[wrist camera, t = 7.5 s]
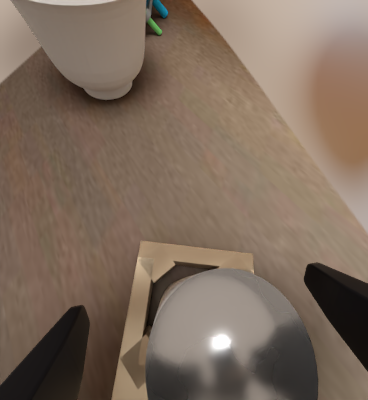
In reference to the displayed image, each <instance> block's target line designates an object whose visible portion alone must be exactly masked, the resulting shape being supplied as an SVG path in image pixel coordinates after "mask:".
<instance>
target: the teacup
mask: <svg viewBox="0 0 368 400" xmlns="http://www.w3.org/2000/svg"><path fill="white" fill-rule="evenodd" d="M11 1H12V3H13V4H14V5H15V7H16V8H17V10H18V11H19V13H20V14H21V16H22V17H23V18H24V20H25V21H26V23H27V24H28V26H29V28H30V29H31V31H32V32H33V34H34V35H35V37H36V38H37V40H38V41H39V43H40V45H41V46H42V48H43V49H44V51H45V52H46V54H47V55H48V57H49V58H50V60H51V61H52V62H53V64H54V65H55V66H56V68H57V69H58V70H59V71H60V72H61V73H62V75H63V76H65V77H66V78H67V79H68V80H69V81H71V82H72V83H74V84H75V85H77V86H79V87H82V88H84V90H85V91H86V92H87V93H88V94H89V95H90V96H92V97H94V98H97V99H103V100H111V99H116V98H120V97H122V96H124V95H125V94H126V93H128V91H129V90H130V89H131V87H132V81H133V80H134V79H135V77H136V76H137V75H138V73H139V72H140V69H141V67H142V64H143V59H144V50H145V22H146V0H11Z"/></svg>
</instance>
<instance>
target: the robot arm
mask: <svg viewBox="0 0 368 400" xmlns="http://www.w3.org/2000/svg"><path fill="white" fill-rule="evenodd" d="M304 282H305V285H306V286H307V288H308V289H309V291H310V292H311V294H312V296H313V297H314V299H315V300H316V302H317V303H318V305H319V306H320V308H321V309H322V311H323V313H324V314H325V316H326V317H327V319H328V320H329V321H330V323H331V324H332V325H333V327H334V328H335V329H336V331H337V332H338V333H339V335H340V336H341V337H342V339H343V340H344V341H345V343H346V344H347V345H348V346H349V348H350V349H351V350H352V352H353V353H354V354H355V356H356V357H357V358H358V359H359V361H360V362H361V363H362V365H363V366H364V367H365V369H366V370H367V371H368V283H365V282H363V281H361V280H358V279H356V278H354V277H351V276H349V275H346V274H344V273H342V272H339V271H337V270H335V269H332V268H330V267H328V266H325V265H323V264H320V263H311V264H308V265H307V267H306V271H305V276H304ZM89 327H90V322H89V318H88V315H87V312H86V309H85V307H84V306H83V305H79V306H74V307H71V308H70V309H69V310H68V311H67V312H66V313H65V314H64V315H63V316H62V317H61V318H60V320H59V321H58V322H57V323H56V324H55V325H54V326H53V327H52V328H51V330H50V331H49V332H48V333H47V334H46V335H45V336H44V337H43V338H42V340H41V341H40V342H39V343H38V344H37V345H36V346H35V347H34V348H33V350H32V351H31V352H30V353H29V354H28V355H27V356H26V357H25V358H24V360H23V361H22V362H21V363H20V364H19V365H18V366H17V367H16V368H15V370H14V371H13V372H12V373H11V374H10V375H9V376H8V377H7V378H6V380H5V381H4V382H3V383H2V384H1V385H0V400H77V397H78V393H79V389H80V384H81V380H82V375H83V369H84V362H85V355H86V348H87V341H88V334H89Z"/></svg>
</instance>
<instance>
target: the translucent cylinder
mask: <svg viewBox="0 0 368 400" xmlns="http://www.w3.org/2000/svg"><path fill="white" fill-rule="evenodd" d="M145 378H146V389H147V396H148V400H317V398H318V375H317V365H316V360H315V355H314V351H313V347H312V344H311V340H310V338H309V335H308V333H307V330H306V328H305V326H304V324H303V322H302V320H301V318H300V316H299V315H298V313H297V312H296V310H295V309H294V307H293V306H292V305H291V303H290V302H289V301H288V300H287V298H286V297H285V296H284V295H283V294H282V293H281V292H280V291H279V290H278V289H277V288H275V287H274V286H273V285H272V284H270V283H269V282H267V281H266V280H264V279H263V278H261V277H259V276H257V275H255V274H253V273H250V272H247V271H244V270H239V269H233V268H219V269H212V270H208V271H204V272H201V273H198V274H195V275H192V276H189V277H186V278H183V279H180V280H177V281H175V282H173V283H172V284H171V285H170V286H169V287H168V288H167V289H166V290H165V292H164V293H163V295H162V297H161V300H160V304H159V307H158V310H157V314H156V317H155V320H154V324H153V327H152V330H151V334H150V337H149V341H148V346H147V352H146V363H145Z"/></svg>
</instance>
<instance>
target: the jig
mask: <svg viewBox="0 0 368 400" xmlns="http://www.w3.org/2000/svg"><path fill="white" fill-rule="evenodd" d="M175 265H179V266H188V267H197V268H206V269H210V270H212V269H219V268H233V269H239V270H244V271H247V272H250V273H253V274H254V268H253V254H251V253H242V252H233V251H225V250H216V249H208V248H199V247H191V246H182V245H174V244H165V243H157V242H148V241H141V243H140V249H139V254H138V259H137V265H136V270H135V276H134V281H133V286H132V292H131V297H130V302H129V308H128V313H127V319H126V324H125V329H124V335H123V340H122V346H121V351H120V356H119V362H118V367H117V372H116V378H115V383H114V389H113V394H112V399H111V400H148V396H147V389H146V378H145V363H146V352H147V346H148V341H149V337H150V334H151V330H152V327H151V326H150V325H149V326H148V327H147V320H148V314H149V307H150V300H151V294H152V287H153V282H154V283H156V282H157V281H159V280H160V279H161V278H162V277H163V276H164V275H166V274H167V273H168V272H169V271H170V270H172V269H173V268H174V266H175ZM146 327H147V328H146Z"/></svg>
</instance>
